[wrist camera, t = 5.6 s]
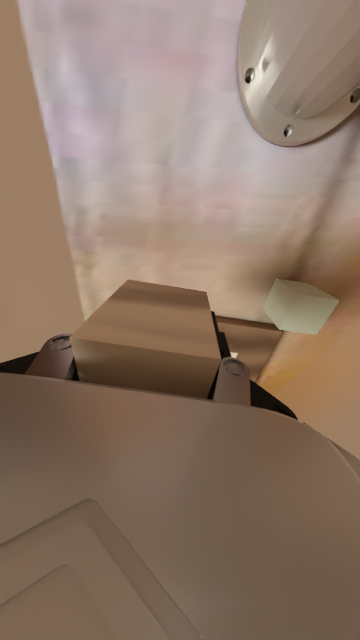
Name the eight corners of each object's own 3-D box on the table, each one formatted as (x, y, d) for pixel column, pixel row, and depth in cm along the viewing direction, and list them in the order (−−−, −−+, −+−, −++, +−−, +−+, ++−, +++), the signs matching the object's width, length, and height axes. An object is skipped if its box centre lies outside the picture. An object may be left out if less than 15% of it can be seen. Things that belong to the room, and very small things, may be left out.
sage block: (275, 278, 25) (298, 293, 20) (309, 283, 25) (340, 300, 20) (262, 308, 27) (279, 329, 22) (292, 313, 27) (316, 334, 22)
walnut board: (171, 309, 28) (169, 315, 26) (277, 325, 29) (283, 332, 27) (161, 381, 37) (160, 389, 36) (242, 392, 38) (244, 401, 36)
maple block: (127, 279, 11) (69, 337, 5) (206, 292, 11) (221, 359, 6) (128, 342, 13) (89, 420, 8) (192, 351, 13) (193, 434, 8)
